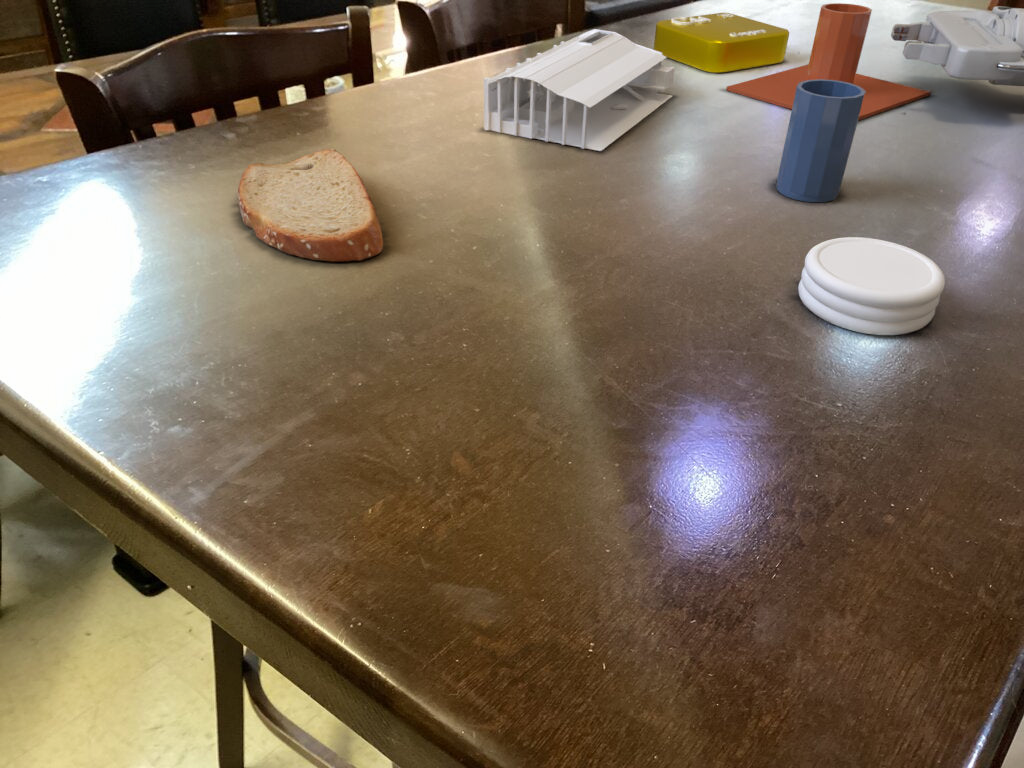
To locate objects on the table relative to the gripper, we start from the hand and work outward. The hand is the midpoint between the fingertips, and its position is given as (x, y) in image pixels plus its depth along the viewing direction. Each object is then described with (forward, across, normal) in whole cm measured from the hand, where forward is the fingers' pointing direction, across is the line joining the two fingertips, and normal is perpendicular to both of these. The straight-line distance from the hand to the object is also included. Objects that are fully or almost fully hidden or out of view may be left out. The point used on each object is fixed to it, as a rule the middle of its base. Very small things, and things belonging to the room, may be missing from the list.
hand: (898, 40), depth 103 cm
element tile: (+22, +15, -7) cm, 28 cm away
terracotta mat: (+7, 0, -7) cm, 10 cm away
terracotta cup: (+7, 0, -6) cm, 10 cm away
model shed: (+38, -17, -7) cm, 42 cm away
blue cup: (+12, -36, -7) cm, 38 cm away
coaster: (+10, -58, -7) cm, 59 cm away
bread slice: (+57, -52, -7) cm, 78 cm away
